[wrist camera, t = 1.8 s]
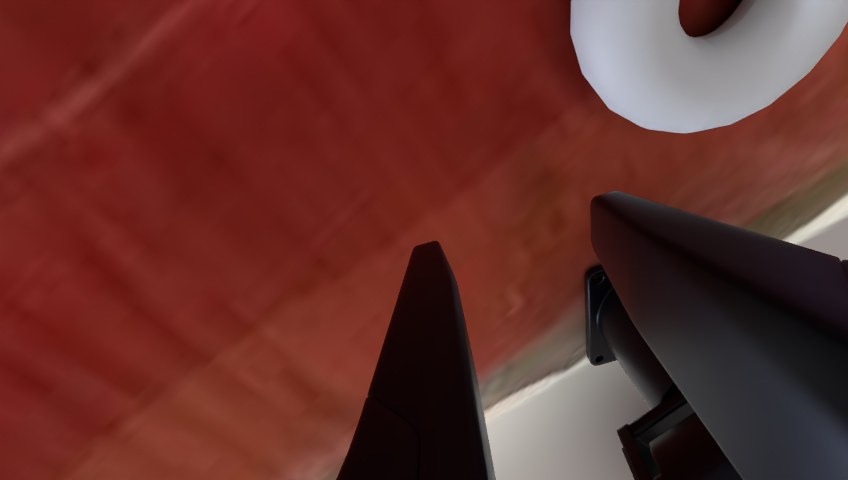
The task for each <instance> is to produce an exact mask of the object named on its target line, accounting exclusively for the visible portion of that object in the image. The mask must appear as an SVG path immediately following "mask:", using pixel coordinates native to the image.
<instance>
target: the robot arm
mask: <svg viewBox="0 0 848 480" xmlns="http://www.w3.org/2000/svg"><path fill="white" fill-rule="evenodd" d="M590 214H591V241H592V246H593V249H594V251H595V253H596V255H597V257H598V259H599V261H600V263H601V265H598V266H595V267H592V268H590V269H589V270H588V271H587V272H586V274H585V304H586V335H587V357H588V359H589V361H590V362H591V364H593V365H601V364H605V363H608V362H612V361H615V360H618V361H619V363H620V365H621V366H622V368H623V369H624V371H625V372H626V374H627V375H628V377H629V378H630V380H631V381H632V383H633V384H634V386H635V387H636V389H637V390H638V392H639V393H640V395H641V396H642V398H643V399H644V401H645V402H646V404H647V405H648V407H649V408H650V410H649V411H648V412H647V413H645V414H644V415H642V416H641V417H639V418H638V419H637V420H635V421H634V422H632V423H631V424H625V425H624V426H622V427H621V428H620V429H618V430H617V433H618V435H619V438H620V440H621V443H622V445H623V448H622V451H623V453H624V455H625V457H626V460H627V463H628V465H629V467H630V470H631V472H632V474H633V477H634V479H635V480H848V260H843V261H840V259H839V258H838V257H835V256H832V255H828V254H825V253H821V252H818V251H815V250H812V249H808V248H805V247H802V246H798V245H795V244H792V243H788V242H785V241H782V240H778V239H775V238H772V237H769V236H765V235H762V234H759V233H755V232H752V231H749V230H745V229H742V228H739V227H735V226H732V225H729V224H725V223H722V222H719V221H715V220H712V219H709V218H705V217H702V216H699V215H695V214H692V213H689V212H686V211H682V210H679V209H676V208H672V207H669V206H666V205H662V204H659V203H656V202H652V201H649V200H646V199H642V198H639V197H636V196H632V195H629V194H626V193H622V192H619V191H613V192H609V193H606V194H602V195H599V196H595V197H594V198H593V199H592V201H591V205H590ZM598 275H599V276H598ZM596 276H598V277H597V278H595V277H596ZM594 278H595V279H594ZM336 480H496V478H495V473H494V467H493V462H492V457H491V451H490V445H489V440H488V435H487V429H486V423H485V418H484V412H483V407H482V402H481V396H480V391H479V385H478V380H477V375H476V371H475V366H474V361H473V356H472V351H471V347H470V342H469V337H468V332H467V328H466V323H465V318H464V313H463V309H462V304H461V299H460V294H459V290H458V285H457V282H456V279H455V276H454V274H453V272H452V270H451V267H450V265H449V263H448V261H447V258H446V256H445V254H444V252H443V250H442V247H441V245H440V243H439V242H438V241H432V242H428V243H425V244H421V245H417V246H415V247H414V248H413V251H412V254H411V257H410V260H409V263H408V267H407V270H406V273H405V276H404V279H403V283H402V286H401V289H400V292H399V295H398V299H397V302H396V305H395V308H394V311H393V315H392V318H391V321H390V324H389V327H388V331H387V334H386V337H385V340H384V343H383V347H382V350H381V353H380V356H379V359H378V363H377V366H376V369H375V372H374V375H373V379H372V382H371V385H370V388H369V391H368V397H367V398H366V400H365V403H364V407H363V410H362V413H361V416H360V419H359V422H358V425H357V428H356V431H355V434H354V437H353V439H352V442H351V445H350V448H349V451H348V453H347V456H346V458H345V460H344V463H343V465H342V467H341V470H340V472H339V474H338V477H337V479H336Z"/></svg>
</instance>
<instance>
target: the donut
mask: <svg viewBox="0 0 848 480" xmlns="http://www.w3.org/2000/svg"><path fill="white" fill-rule="evenodd" d="M679 1H680V0H571V29H570V34H571V37H572V41H573V44H574V47H575V51H576V54H577V58H578V61H579V64H580V68H581V71H582V74H583V75H584V77H585V78H586V79H587V81H588V82H589V83H590V85H591V86H592V87H593V88H594V90H595V91H596V92H597V94H598V95H599V96H600V98H601V99H602V100H603V101H604V103H605V104H606V105H607V107H608V108H609V109H610V110H612V111H614V112H615V113H617V114H619V115H621V116H623V117H624V118H626V119H628V120H630V121H632V122H633V123H635V124H637V125H639V126H641V127H644V128H646V129H650V130H658V131H667V132H675V133H684V134H685V133H692V132H697V131H702V130H707V129H711V128H716V127H721V126H726V125H730V124H733V123H735V122H737V121H739V120H741V119H743V118H745V117H747V116H749V115H751V114H753V113H755V112H757V111H759V110H761V109H763V108H765V107H767V106H769V105H770V104H771V103H773V102H774V101H775V100H776V99H777V98H779V97H780V96H781V95H782V94H784V93H785V92H786V91H787V90H788V89H790V88H791V87H792V86H793V85H795V84H796V83H797V82H798V81H799V80H801V79H802V78H803V77H804V76H806V75H807V74H808V73H809V72H810V71H811V70H812V68H813V67H814V66H815V65H816V64H817V62H818V61H819V60H820V59H821V57H822V56H823V55H824V54H825V53H826V51H827V50H828V49H829V48H830V47H831V45H832V44H833V43H834V42H835V41H836V39H837V38H838V37H839V36H840V34H841V32H842V30H843V29H844V27H845V25H846V23H847V21H848V0H742V1H741V3H740V4H739V6H738V7H737V8H736V10H735V11H734V12H733V14H732V15H731V16H730V18H728V19H727V20H726V21H725V22H724V23H723V24H722V25H721V26H719V27H718V28H717V29H716V30H715V31H713V32H711V33H709V34H707V35H705V36H700V37H695V38H694V37H690V36H688V35H687V34H686V33H685V32H684V30H683V28H682V27H681V25H680V21H679V15H678V9H679Z"/></svg>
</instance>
